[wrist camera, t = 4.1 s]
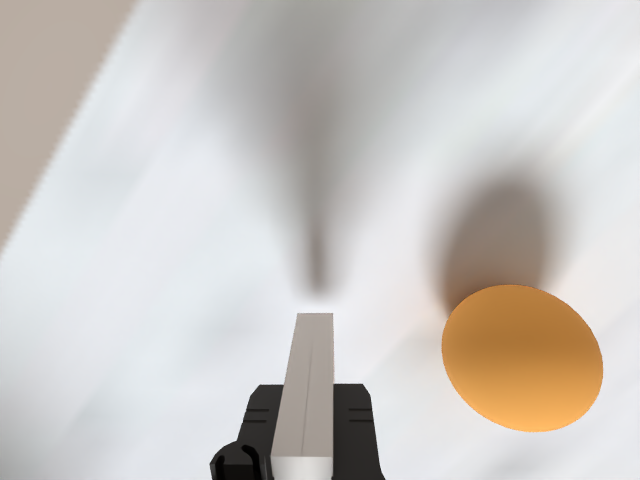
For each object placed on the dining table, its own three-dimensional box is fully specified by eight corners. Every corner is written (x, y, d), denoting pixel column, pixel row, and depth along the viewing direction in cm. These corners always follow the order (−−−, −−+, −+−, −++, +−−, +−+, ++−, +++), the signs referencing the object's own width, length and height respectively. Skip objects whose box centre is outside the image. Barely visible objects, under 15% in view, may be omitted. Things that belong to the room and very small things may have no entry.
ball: (422, 365, 17) (461, 468, 12) (431, 264, 16) (481, 334, 10) (534, 365, 17) (622, 470, 12) (555, 263, 15) (670, 334, 10)
